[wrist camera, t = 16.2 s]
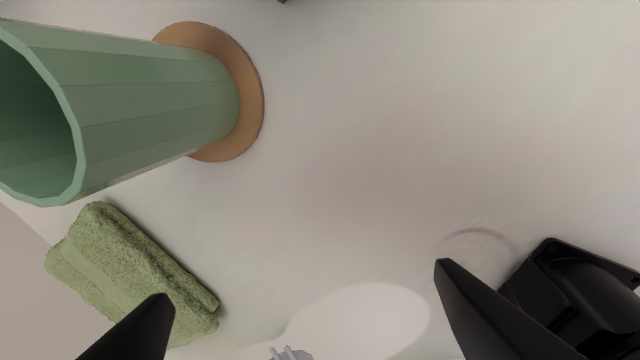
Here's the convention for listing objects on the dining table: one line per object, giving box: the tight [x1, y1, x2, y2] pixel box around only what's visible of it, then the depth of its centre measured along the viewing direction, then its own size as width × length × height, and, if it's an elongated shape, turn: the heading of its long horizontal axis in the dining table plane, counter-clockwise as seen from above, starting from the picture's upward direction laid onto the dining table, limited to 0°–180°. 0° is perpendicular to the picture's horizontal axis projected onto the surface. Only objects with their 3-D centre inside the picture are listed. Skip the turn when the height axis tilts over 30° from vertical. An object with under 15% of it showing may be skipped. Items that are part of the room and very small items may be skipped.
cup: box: [0, 17, 240, 207], centre depth 14 cm, size 7×7×11 cm
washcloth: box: [44, 201, 219, 351], centre depth 28 cm, size 13×18×3 cm
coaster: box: [152, 22, 264, 162], centre depth 20 cm, size 10×10×1 cm
